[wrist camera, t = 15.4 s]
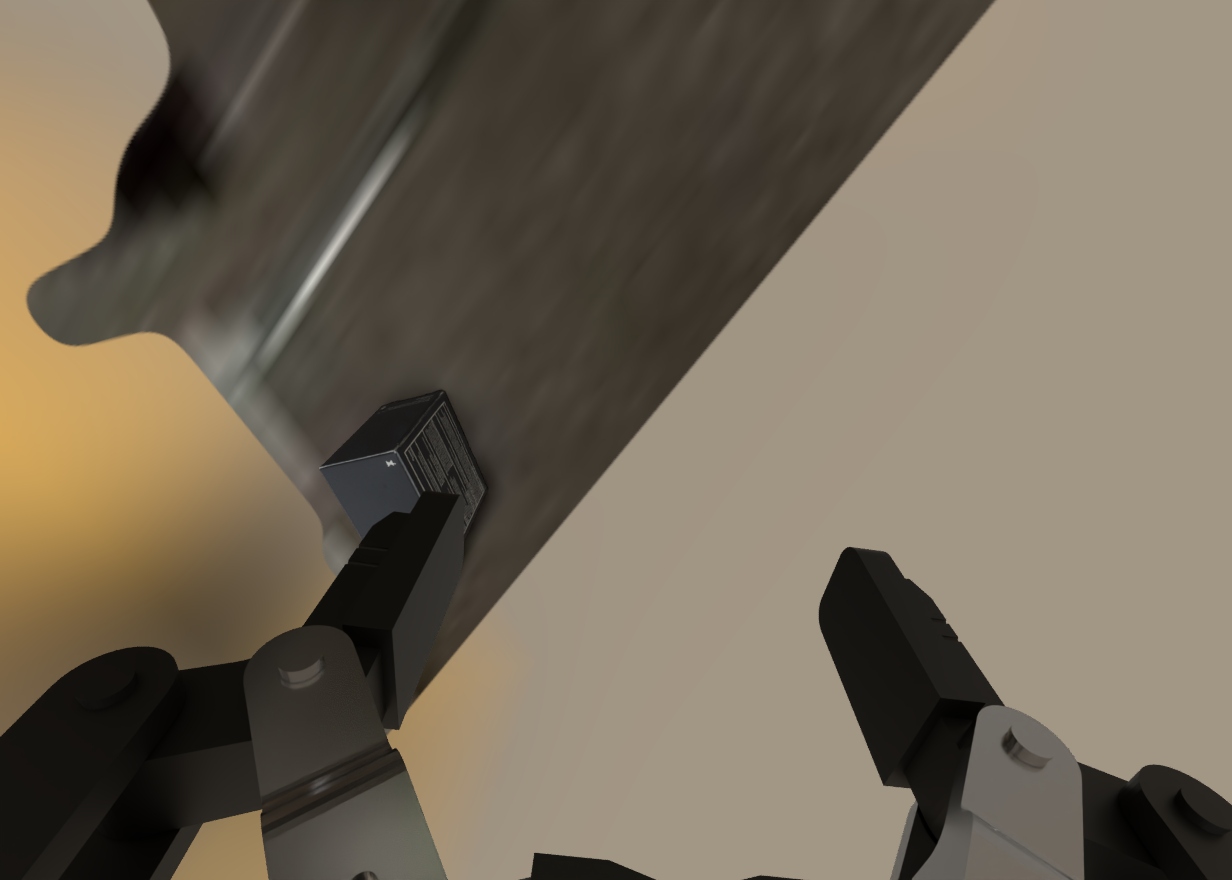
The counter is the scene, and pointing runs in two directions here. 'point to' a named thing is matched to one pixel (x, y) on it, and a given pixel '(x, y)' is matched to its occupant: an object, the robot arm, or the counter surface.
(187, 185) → the counter surface
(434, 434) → the small box
